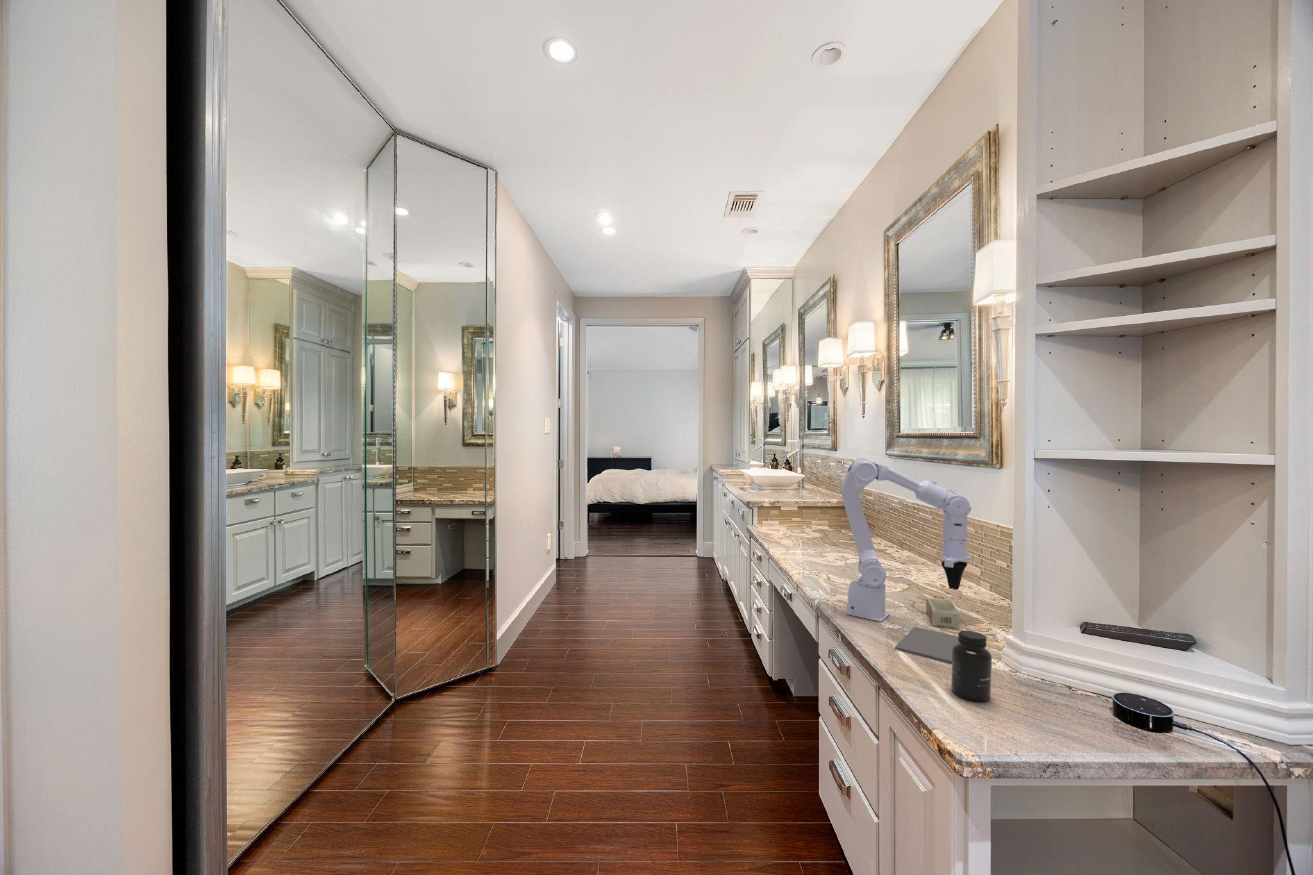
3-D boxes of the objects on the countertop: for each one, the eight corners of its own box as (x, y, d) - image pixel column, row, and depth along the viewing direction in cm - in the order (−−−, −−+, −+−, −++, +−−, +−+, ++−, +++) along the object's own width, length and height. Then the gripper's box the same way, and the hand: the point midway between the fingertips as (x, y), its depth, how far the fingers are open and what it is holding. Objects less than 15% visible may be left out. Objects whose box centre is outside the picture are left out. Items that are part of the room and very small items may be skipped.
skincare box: (959, 629, 142) (951, 614, 153) (959, 613, 142) (951, 599, 153) (931, 626, 144) (925, 611, 156) (932, 610, 144) (926, 596, 156)
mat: (894, 649, 129) (895, 646, 129) (914, 628, 142) (914, 626, 142) (961, 666, 120) (961, 663, 120) (975, 642, 134) (975, 640, 133)
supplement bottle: (990, 706, 103) (992, 644, 103) (950, 696, 107) (951, 636, 106) (991, 691, 109) (992, 632, 108) (952, 682, 112) (953, 625, 112)
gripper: (966, 545, 138) (965, 597, 139) (976, 536, 149) (975, 585, 150) (936, 541, 143) (935, 592, 143) (948, 533, 154) (947, 580, 154)
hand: (953, 588), depth 147 cm, fingers closed
